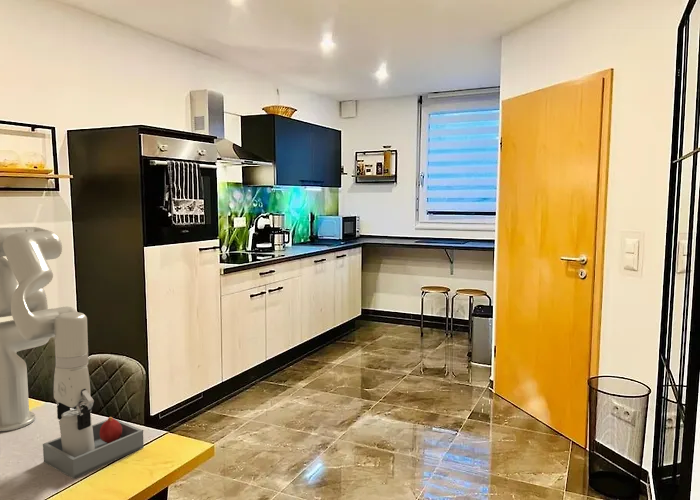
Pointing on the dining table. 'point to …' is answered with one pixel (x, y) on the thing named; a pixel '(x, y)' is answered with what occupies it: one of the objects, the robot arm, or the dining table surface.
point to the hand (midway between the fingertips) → (73, 422)
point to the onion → (110, 430)
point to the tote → (93, 451)
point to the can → (75, 435)
